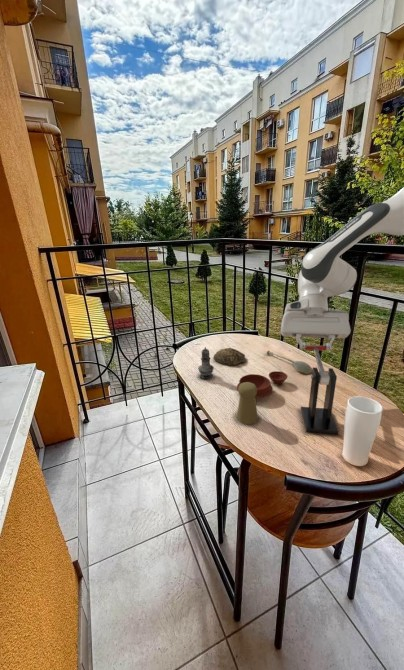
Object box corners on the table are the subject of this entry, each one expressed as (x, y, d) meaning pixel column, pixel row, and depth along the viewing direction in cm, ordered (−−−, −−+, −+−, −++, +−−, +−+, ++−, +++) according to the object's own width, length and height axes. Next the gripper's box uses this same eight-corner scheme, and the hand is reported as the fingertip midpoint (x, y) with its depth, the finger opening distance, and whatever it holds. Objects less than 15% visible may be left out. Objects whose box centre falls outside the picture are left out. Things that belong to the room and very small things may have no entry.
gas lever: (304, 349, 87) (304, 342, 86) (324, 350, 86) (325, 343, 85) (311, 384, 74) (313, 377, 72) (336, 385, 73) (337, 378, 71)
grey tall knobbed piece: (195, 376, 105) (193, 347, 101) (205, 371, 109) (204, 342, 105) (206, 381, 102) (205, 351, 97) (217, 375, 106) (216, 346, 101)
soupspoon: (303, 377, 103) (315, 373, 106) (305, 369, 102) (316, 365, 105) (262, 355, 121) (273, 352, 124) (263, 348, 119) (274, 345, 123)
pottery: (229, 391, 95) (229, 379, 94) (271, 374, 105) (272, 363, 104) (253, 407, 86) (253, 395, 84) (297, 387, 96) (298, 376, 94)
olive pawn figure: (236, 410, 85) (237, 378, 81) (257, 411, 84) (258, 379, 80) (236, 423, 79) (236, 390, 75) (258, 425, 78) (259, 390, 74)
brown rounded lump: (209, 359, 119) (209, 348, 117) (229, 350, 127) (229, 340, 125) (231, 369, 110) (231, 357, 108) (251, 359, 118) (252, 348, 116)
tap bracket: (300, 410, 84) (305, 362, 78) (329, 412, 82) (336, 363, 77) (305, 432, 75) (311, 380, 69) (338, 435, 73) (346, 382, 68)
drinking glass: (376, 460, 65) (389, 405, 60) (361, 475, 61) (373, 418, 56) (348, 444, 70) (357, 392, 65) (332, 456, 66) (341, 402, 61)
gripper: (344, 314, 91) (349, 354, 86) (279, 313, 95) (280, 351, 89) (351, 304, 85) (356, 347, 80) (281, 304, 89) (282, 344, 84)
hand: (315, 349), depth 85 cm, fingers closed on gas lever, 6 cm apart
